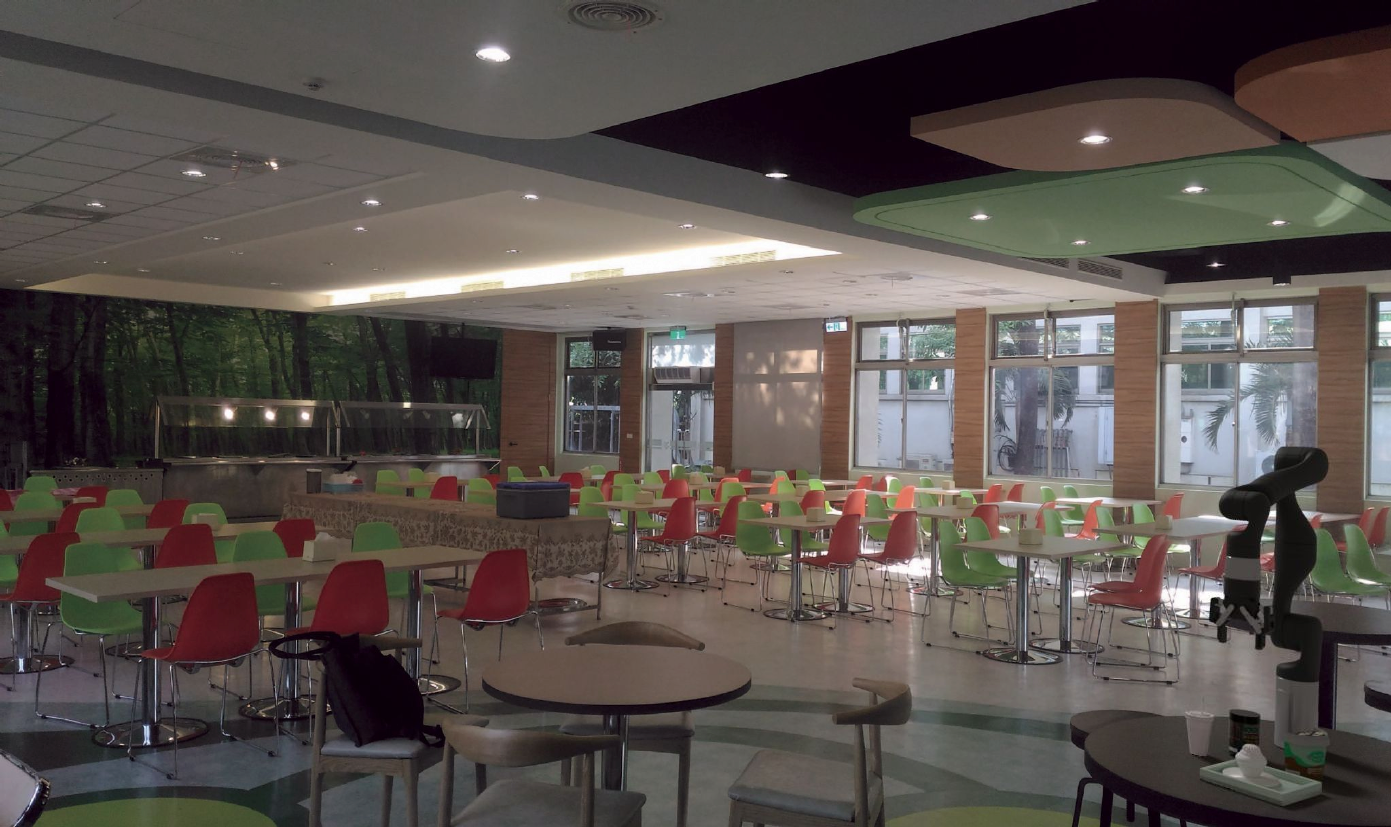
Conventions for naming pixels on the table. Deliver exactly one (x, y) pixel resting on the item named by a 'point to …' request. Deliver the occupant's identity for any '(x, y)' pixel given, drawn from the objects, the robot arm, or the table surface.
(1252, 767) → the muffin
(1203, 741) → the smoothie
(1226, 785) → the tray
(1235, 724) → the supplement container
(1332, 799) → the table surface
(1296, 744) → the food container
